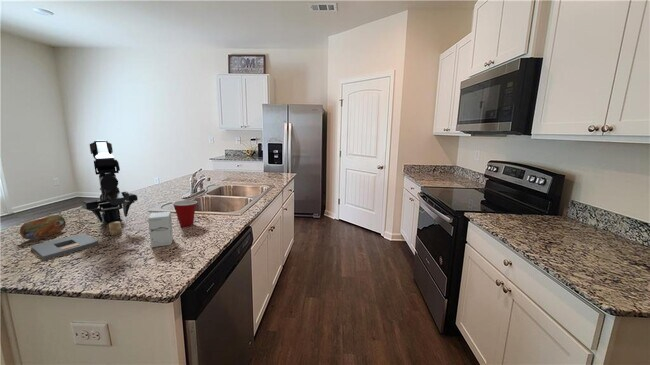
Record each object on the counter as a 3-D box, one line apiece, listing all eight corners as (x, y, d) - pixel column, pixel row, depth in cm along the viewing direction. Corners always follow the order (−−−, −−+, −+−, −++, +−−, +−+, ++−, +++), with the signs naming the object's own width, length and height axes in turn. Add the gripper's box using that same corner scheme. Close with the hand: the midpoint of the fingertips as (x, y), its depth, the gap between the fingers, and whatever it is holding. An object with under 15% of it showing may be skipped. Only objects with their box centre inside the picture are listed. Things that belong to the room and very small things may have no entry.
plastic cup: (203, 221, 137) (201, 199, 135) (190, 229, 126) (188, 205, 124) (183, 220, 138) (181, 198, 136) (169, 228, 127) (167, 204, 125)
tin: (26, 243, 109) (21, 223, 107) (20, 242, 110) (15, 223, 108) (67, 230, 123) (64, 212, 122) (62, 229, 124) (59, 212, 122)
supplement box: (150, 248, 106) (147, 218, 104) (154, 241, 113) (150, 212, 110) (171, 245, 109) (168, 216, 107) (173, 238, 116) (170, 210, 113)
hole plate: (83, 236, 117) (83, 232, 117) (98, 244, 109) (98, 240, 108) (31, 249, 103) (30, 245, 103) (43, 260, 95) (42, 255, 95)
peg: (119, 231, 123) (117, 220, 122) (123, 232, 121) (121, 222, 120) (108, 233, 120) (107, 223, 119) (112, 235, 118) (111, 225, 117)
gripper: (89, 192, 104) (95, 229, 107) (141, 184, 120) (145, 217, 123) (78, 188, 110) (84, 224, 113) (129, 181, 125) (133, 212, 128)
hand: (113, 219), depth 119 cm, fingers open, 9 cm apart
